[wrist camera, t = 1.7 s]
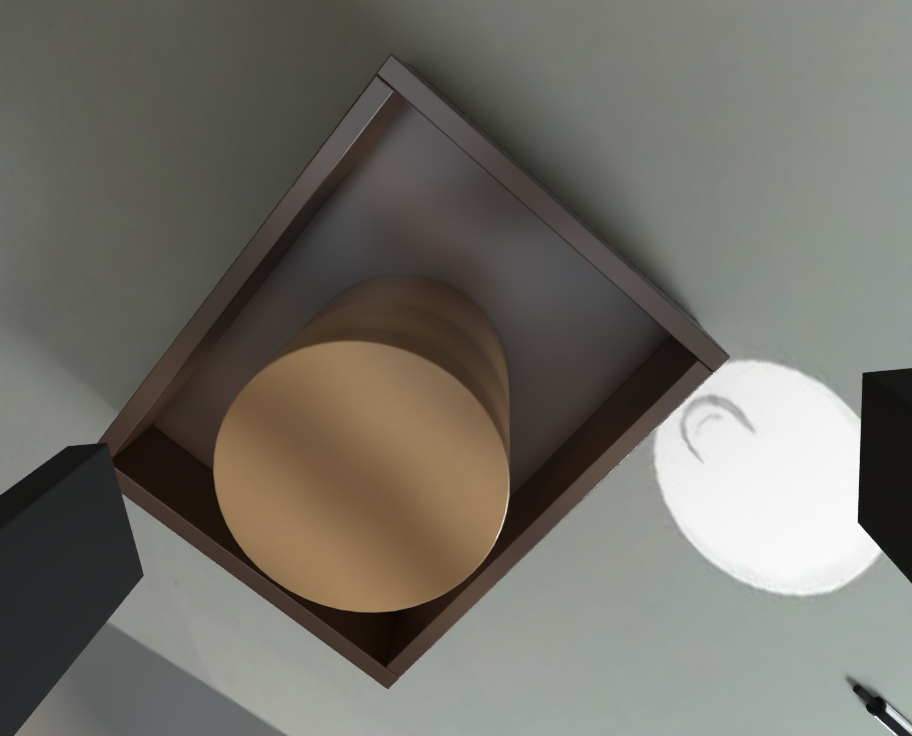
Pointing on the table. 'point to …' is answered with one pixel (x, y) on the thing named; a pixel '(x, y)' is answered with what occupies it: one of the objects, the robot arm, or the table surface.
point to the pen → (885, 713)
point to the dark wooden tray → (453, 264)
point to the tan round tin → (372, 449)
